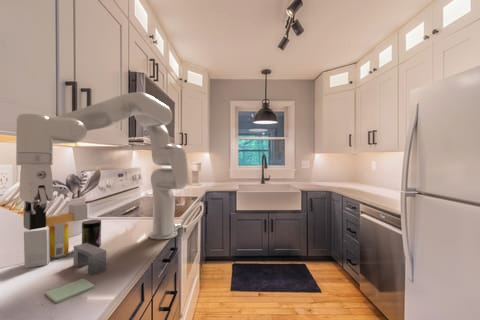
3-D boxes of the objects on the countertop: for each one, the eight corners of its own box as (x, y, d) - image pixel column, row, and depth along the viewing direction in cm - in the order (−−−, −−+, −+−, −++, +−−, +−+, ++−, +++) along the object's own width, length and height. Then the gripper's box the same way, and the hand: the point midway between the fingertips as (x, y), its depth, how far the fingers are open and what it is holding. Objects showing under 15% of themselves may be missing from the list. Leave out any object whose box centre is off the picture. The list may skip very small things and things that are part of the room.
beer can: (65, 251, 91) (65, 212, 91) (70, 255, 88) (71, 214, 88) (45, 256, 87) (46, 215, 87) (50, 260, 83) (50, 217, 83)
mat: (82, 280, 70) (82, 278, 70) (94, 287, 66) (95, 285, 66) (45, 294, 62) (45, 292, 62) (56, 303, 58) (56, 301, 58)
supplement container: (95, 250, 93) (96, 223, 93) (77, 250, 92) (77, 223, 92) (104, 244, 100) (104, 219, 100) (87, 244, 99) (87, 219, 99)
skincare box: (50, 260, 83) (50, 225, 83) (47, 265, 79) (47, 229, 79) (27, 263, 80) (27, 228, 80) (23, 269, 76) (23, 231, 76)
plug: (81, 217, 76) (81, 202, 76) (87, 219, 74) (87, 204, 74) (24, 227, 65) (24, 210, 65) (29, 230, 62) (29, 212, 62)
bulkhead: (86, 261, 83) (86, 242, 83) (106, 270, 76) (106, 250, 76) (73, 265, 79) (73, 246, 79) (92, 275, 72) (93, 254, 72)
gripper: (64, 160, 63) (63, 228, 63) (40, 159, 73) (40, 219, 72) (27, 160, 57) (27, 236, 57) (7, 159, 66) (6, 225, 66)
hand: (34, 226), depth 65 cm, fingers closed on plug, 4 cm apart
